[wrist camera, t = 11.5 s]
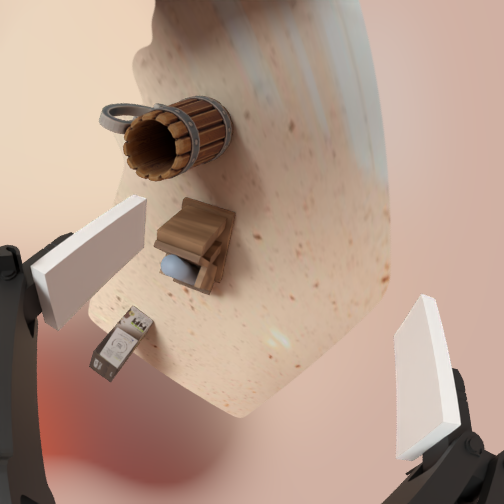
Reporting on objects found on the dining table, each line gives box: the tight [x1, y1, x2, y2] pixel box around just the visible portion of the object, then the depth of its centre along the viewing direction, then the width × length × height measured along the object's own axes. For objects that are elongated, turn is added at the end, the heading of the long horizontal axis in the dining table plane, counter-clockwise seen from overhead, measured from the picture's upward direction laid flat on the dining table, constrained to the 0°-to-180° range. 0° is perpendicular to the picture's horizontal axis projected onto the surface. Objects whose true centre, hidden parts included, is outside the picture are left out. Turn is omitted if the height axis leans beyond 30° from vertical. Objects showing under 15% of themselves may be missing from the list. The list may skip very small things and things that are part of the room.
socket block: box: [154, 197, 235, 295], centre depth 53 cm, size 16×9×12 cm, turn 167°
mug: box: [99, 96, 233, 181], centre depth 41 cm, size 16×11×15 cm
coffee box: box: [89, 306, 153, 382], centre depth 68 cm, size 9×6×16 cm
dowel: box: [161, 254, 200, 285], centre depth 53 cm, size 3×3×12 cm
